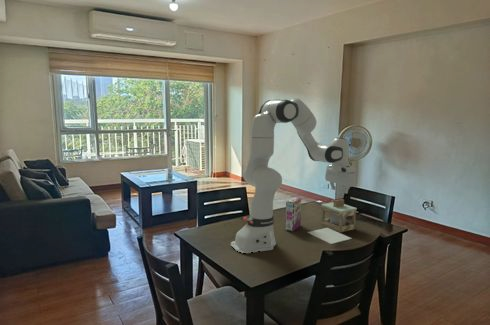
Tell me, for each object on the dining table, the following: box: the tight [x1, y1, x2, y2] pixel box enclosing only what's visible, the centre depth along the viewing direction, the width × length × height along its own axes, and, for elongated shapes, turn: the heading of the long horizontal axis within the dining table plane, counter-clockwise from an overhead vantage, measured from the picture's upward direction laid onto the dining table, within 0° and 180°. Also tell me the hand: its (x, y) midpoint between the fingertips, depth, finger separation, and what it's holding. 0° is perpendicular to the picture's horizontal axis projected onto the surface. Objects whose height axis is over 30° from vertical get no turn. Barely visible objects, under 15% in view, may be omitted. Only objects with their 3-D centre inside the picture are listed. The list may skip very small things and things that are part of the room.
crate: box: [320, 206, 357, 234], centre depth 188 cm, size 11×15×11 cm
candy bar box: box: [284, 196, 302, 232], centre depth 186 cm, size 11×5×16 cm, turn 149°
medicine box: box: [330, 214, 347, 226], centre depth 188 cm, size 8×4×9 cm, turn 84°
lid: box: [320, 198, 358, 213], centre depth 186 cm, size 12×16×6 cm
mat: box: [307, 227, 352, 245], centre depth 175 cm, size 14×18×1 cm
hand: (339, 191), depth 185 cm, fingers open, 8 cm apart
